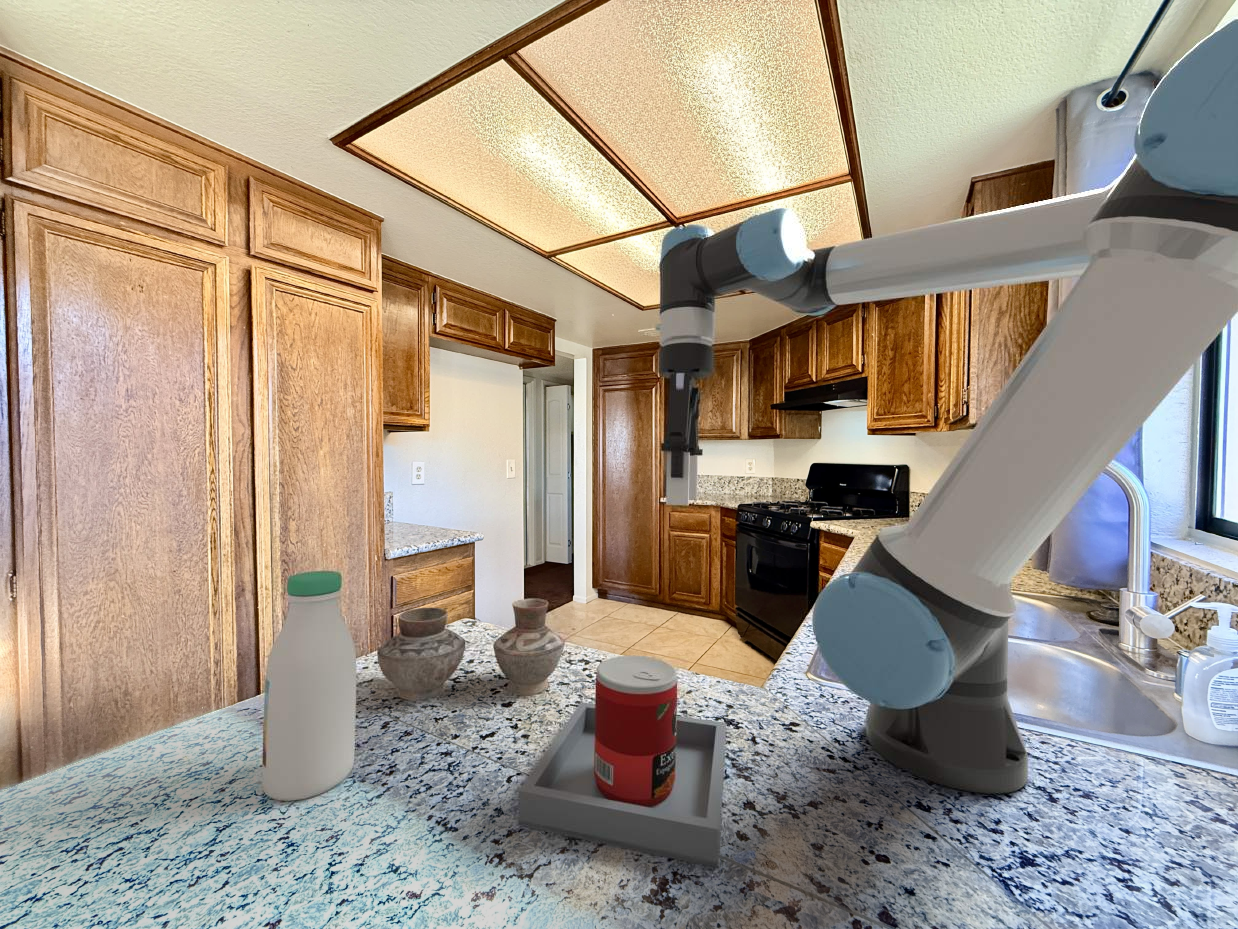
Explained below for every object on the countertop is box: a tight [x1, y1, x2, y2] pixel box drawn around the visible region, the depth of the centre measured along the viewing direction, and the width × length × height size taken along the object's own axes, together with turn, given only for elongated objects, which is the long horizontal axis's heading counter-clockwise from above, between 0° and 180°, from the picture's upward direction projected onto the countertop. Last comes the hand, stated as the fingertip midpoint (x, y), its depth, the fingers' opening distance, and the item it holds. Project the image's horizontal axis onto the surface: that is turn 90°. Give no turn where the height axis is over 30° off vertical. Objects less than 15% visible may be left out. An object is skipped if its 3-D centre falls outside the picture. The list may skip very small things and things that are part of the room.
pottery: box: [376, 598, 566, 702], centre depth 69 cm, size 11×25×12 cm, turn 99°
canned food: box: [594, 655, 678, 807], centre depth 48 cm, size 8×8×11 cm
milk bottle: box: [261, 570, 357, 802], centre depth 49 cm, size 8×8×20 cm
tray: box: [517, 701, 727, 869], centre depth 49 cm, size 17×17×3 cm
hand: (683, 502), depth 68 cm, fingers open, 13 cm apart
